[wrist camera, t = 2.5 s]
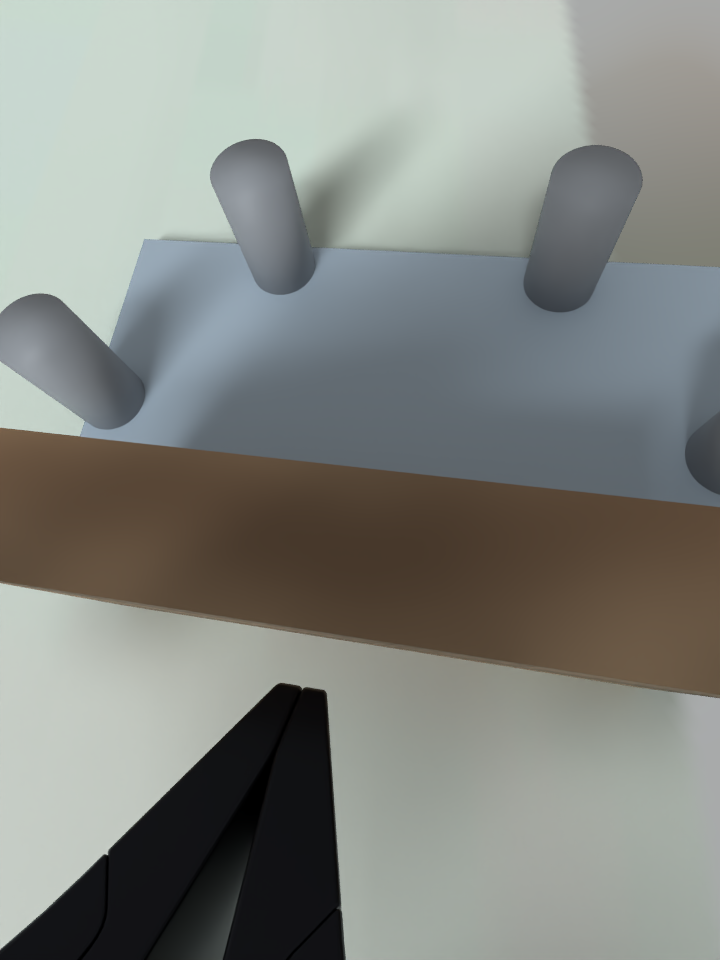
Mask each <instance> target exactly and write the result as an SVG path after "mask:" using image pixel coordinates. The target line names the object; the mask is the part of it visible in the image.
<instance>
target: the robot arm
mask: <svg viewBox="0 0 720 960" xmlns="http://www.w3.org/2000/svg"><path fill="white" fill-rule="evenodd" d="M0 960H346V956H345V946H344V933H343V918H342V911H341V893H340V879H339V864H338V850H337V835H336V820H335V806H334V791H333V777H332V762H331V748H330V733H329V718H328V704H327V693H326V692H325V691H324V690H320V689H314V688H309V687H305V688H303V690H302V688H301V687H300V686H297V685H291V684H286V683H279V684H277V685H276V686H275V687H274V688H273V689H272V690H271V691H270V692H269V693H267V694H266V695H265V696H264V697H263V698H262V699H261V700H260V701H259V702H258V703H257V704H256V705H255V706H254V707H253V708H252V709H251V710H250V711H249V712H248V713H247V714H246V715H245V716H244V717H243V718H242V719H241V720H240V721H239V722H238V723H237V724H236V725H235V726H234V727H233V728H232V729H231V730H230V731H229V732H228V733H227V734H226V735H225V736H224V737H223V738H222V739H221V740H220V741H219V742H218V743H217V744H216V745H215V746H214V747H213V748H212V749H211V750H210V751H209V752H208V753H207V754H206V755H205V756H204V757H203V758H201V759H200V760H199V761H198V762H197V763H196V764H195V765H194V766H193V767H192V768H191V769H190V770H189V771H188V772H187V773H186V774H185V775H184V776H183V777H182V778H181V779H180V780H179V781H178V782H177V783H176V784H175V785H174V786H173V787H172V788H171V789H170V790H169V791H168V792H167V793H166V794H165V795H164V796H163V797H162V798H161V799H160V800H159V801H158V802H157V803H156V804H155V805H154V806H153V807H152V808H151V809H150V810H149V811H148V812H147V813H146V814H145V815H144V816H143V817H142V818H141V819H140V820H139V821H137V822H136V823H135V824H134V825H133V826H132V827H131V828H130V829H129V830H128V831H127V832H126V833H125V834H124V835H123V836H122V837H121V838H120V839H119V840H118V841H117V842H116V843H115V844H114V845H113V846H112V847H111V848H110V849H109V851H108V855H106V854H104V855H103V856H102V857H101V858H100V859H99V860H97V861H96V862H95V863H94V864H93V865H92V866H91V867H90V868H89V869H88V870H87V871H86V872H85V873H84V874H83V875H82V876H81V877H80V878H79V879H78V880H77V881H76V882H75V883H74V884H73V885H72V886H71V887H70V888H69V889H68V890H67V891H65V892H64V893H63V894H62V895H61V896H60V897H59V898H58V899H57V900H56V901H55V902H54V903H53V904H52V905H51V906H50V907H49V908H47V909H46V910H45V911H44V912H43V913H42V914H41V915H40V916H38V917H37V918H36V919H35V920H34V921H33V922H32V923H30V924H29V925H28V926H27V927H26V928H25V929H23V930H22V931H21V932H20V933H19V934H18V935H17V936H15V937H14V938H13V939H12V940H11V941H10V942H8V943H7V944H6V945H5V946H4V947H3V948H2V949H0Z"/></svg>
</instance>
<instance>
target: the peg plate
mask: <svg viewBox="0 0 720 960" xmlns="http://www.w3.org/2000/svg"><path fill="white" fill-rule="evenodd" d="M210 180H211V184H212V186H213V188H214V190H215V193H216V195H217V197H218V199H219V202H220V204H221V206H222V208H223V211H224V213H225V215H226V217H227V220H228V222H229V224H230V226H231V228H232V231H233V233H234V235H235V237H236V240H237V242H238V244H234V243H213V242H193V241H172V240H152V239H144V242H143V245H142V248H141V251H140V254H139V257H138V260H137V264H136V267H135V270H134V273H133V276H132V279H131V282H130V285H129V288H128V291H127V294H126V297H125V300H124V303H123V306H122V309H121V312H120V315H119V319H118V322H117V325H116V328H115V331H114V334H113V337H112V340H111V343H110V346H109V347H108V346H107V345H106V344H105V343H104V342H103V341H102V340H101V339H100V338H99V337H98V336H97V335H96V334H95V333H94V332H93V331H92V330H91V329H90V328H89V327H88V326H87V325H86V324H85V323H84V322H83V321H82V320H81V319H80V318H79V317H78V316H77V315H76V314H75V313H74V312H72V311H71V310H70V309H69V308H68V307H67V306H66V305H65V304H64V303H63V302H62V301H61V300H60V299H58V298H57V297H55V296H53V295H49V294H32V295H28V296H25V297H22V298H20V299H18V300H16V301H14V302H13V303H11V304H10V305H9V306H8V307H6V308H5V309H4V310H3V311H2V312H1V314H0V361H1V362H2V363H4V364H5V365H6V366H8V367H9V368H11V369H12V370H14V371H15V372H16V373H18V374H19V375H21V376H22V377H24V378H25V379H26V380H28V381H29V382H31V383H32V384H33V385H35V386H36V387H38V388H39V389H41V390H42V391H43V392H45V393H46V394H48V395H49V396H51V397H52V398H53V399H55V400H56V401H58V402H59V403H61V404H62V405H63V406H65V407H66V408H68V409H69V410H70V411H72V412H73V413H75V414H76V415H78V416H79V417H80V418H82V419H83V420H85V422H84V425H83V429H82V432H81V435H80V437H88V438H97V439H106V440H115V441H124V442H133V443H143V444H152V445H161V446H170V447H179V448H188V449H197V450H206V451H215V452H224V453H233V454H242V455H251V456H260V457H270V458H279V459H288V460H297V461H306V462H315V463H324V464H333V465H342V466H351V467H360V468H369V469H378V470H387V471H397V472H406V473H415V474H424V475H433V476H442V477H451V478H460V479H469V480H478V481H487V482H496V483H505V484H514V485H524V486H533V487H542V488H551V489H560V490H569V491H578V492H587V493H596V494H605V495H614V496H623V497H632V498H641V499H651V500H660V501H669V502H678V503H687V504H696V505H705V506H714V507H720V267H705V266H685V265H664V264H643V263H624V262H608V259H609V257H610V255H611V253H612V251H613V249H614V246H615V244H616V242H617V240H618V238H619V235H620V233H621V231H622V229H623V227H624V225H625V223H626V220H627V218H628V216H629V214H630V212H631V210H632V207H633V205H634V203H635V201H636V199H637V196H638V194H639V192H640V190H641V187H642V181H643V179H642V173H641V170H640V168H639V166H638V165H637V163H636V162H635V161H634V159H633V158H631V157H630V156H629V155H628V154H626V153H624V152H622V151H621V150H618V149H616V148H612V147H609V146H602V145H590V146H584V147H580V148H577V149H574V150H572V151H570V152H568V153H566V154H565V155H564V156H562V157H561V158H560V159H559V160H558V161H557V163H556V164H555V166H554V168H553V170H552V173H551V177H550V180H549V184H548V188H547V192H546V196H545V199H544V203H543V207H542V211H541V215H540V219H539V222H538V226H537V230H536V234H535V238H534V242H533V245H532V249H531V253H530V257H529V258H521V257H500V256H480V255H459V254H439V253H418V252H398V251H377V250H357V249H336V248H316V247H311V244H310V241H309V237H308V233H307V230H306V226H305V222H304V219H303V215H302V212H301V208H300V204H299V201H298V197H297V193H296V190H295V186H294V182H293V179H292V175H291V171H290V168H289V164H288V161H287V157H286V155H285V153H284V151H283V150H282V149H281V148H280V147H279V146H278V145H276V144H275V143H273V142H270V141H267V140H262V139H250V140H245V141H241V142H238V143H236V144H233V145H231V146H230V147H228V148H227V149H225V150H224V151H223V152H222V153H221V154H220V155H219V156H218V157H217V158H216V160H215V161H214V163H213V165H212V168H211V172H210Z"/></svg>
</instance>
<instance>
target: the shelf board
mask: <svg viewBox="0 0 720 960" xmlns="http://www.w3.org/2000/svg"><path fill="white" fill-rule="evenodd" d="M0 583H3V584H9V585H14V586H20V587H25V588H31V589H36V590H42V591H48V592H53V593H59V594H64V595H70V596H76V597H81V598H87V599H92V600H98V601H103V602H109V603H115V604H120V605H126V606H132V607H139V608H145V609H151V610H157V611H164V612H170V613H176V614H182V615H189V616H195V617H201V618H207V619H214V620H220V621H226V622H233V623H239V624H245V625H251V626H258V627H264V628H270V629H276V630H283V631H289V632H295V633H301V634H308V635H314V636H320V637H326V638H333V639H339V640H345V641H352V642H358V643H364V644H370V645H377V646H383V647H389V648H395V649H402V650H408V651H414V652H420V653H427V654H433V655H439V656H445V657H452V658H458V659H464V660H471V661H477V662H483V663H489V664H496V665H502V666H508V667H514V668H521V669H527V670H533V671H539V672H546V673H552V674H558V675H564V676H571V677H577V678H583V679H590V680H596V681H602V682H608V683H615V684H621V685H627V686H633V687H640V688H647V689H655V690H662V691H670V692H677V693H685V694H692V695H700V696H708V697H715V698H720V507H714V506H705V505H696V504H687V503H678V502H669V501H660V500H651V499H641V498H632V497H623V496H614V495H605V494H596V493H587V492H578V491H569V490H560V489H551V488H542V487H533V486H524V485H514V484H505V483H496V482H487V481H478V480H469V479H460V478H451V477H442V476H433V475H424V474H415V473H406V472H397V471H387V470H378V469H369V468H360V467H351V466H342V465H333V464H324V463H315V462H306V461H297V460H288V459H279V458H270V457H260V456H251V455H242V454H233V453H224V452H215V451H206V450H197V449H188V448H179V447H170V446H161V445H152V444H143V443H133V442H124V441H115V440H106V439H97V438H88V437H79V436H70V435H61V434H52V433H43V432H34V431H25V430H15V429H6V428H0Z"/></svg>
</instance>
